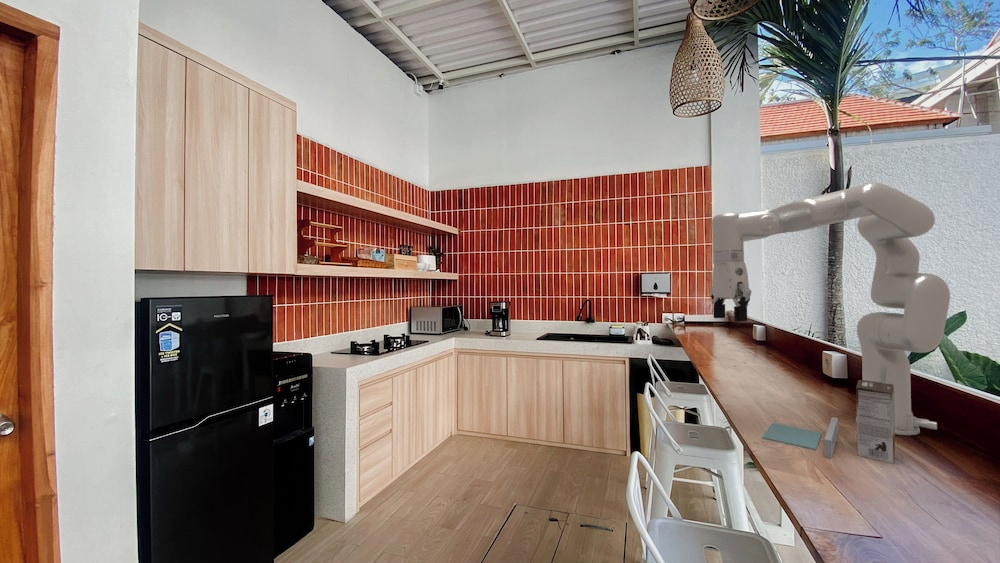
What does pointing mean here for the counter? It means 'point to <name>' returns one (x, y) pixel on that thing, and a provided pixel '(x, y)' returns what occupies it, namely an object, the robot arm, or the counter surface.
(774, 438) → the mat
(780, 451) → the counter surface
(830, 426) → the low wall
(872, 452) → the coffee box
